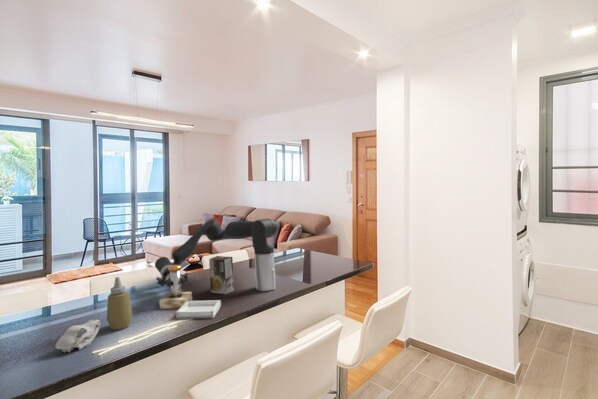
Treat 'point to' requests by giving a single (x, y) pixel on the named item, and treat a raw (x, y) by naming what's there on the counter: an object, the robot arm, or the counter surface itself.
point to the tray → (199, 309)
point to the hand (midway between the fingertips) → (176, 283)
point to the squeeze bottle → (118, 307)
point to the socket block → (175, 300)
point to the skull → (78, 336)
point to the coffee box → (221, 274)
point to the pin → (175, 281)
